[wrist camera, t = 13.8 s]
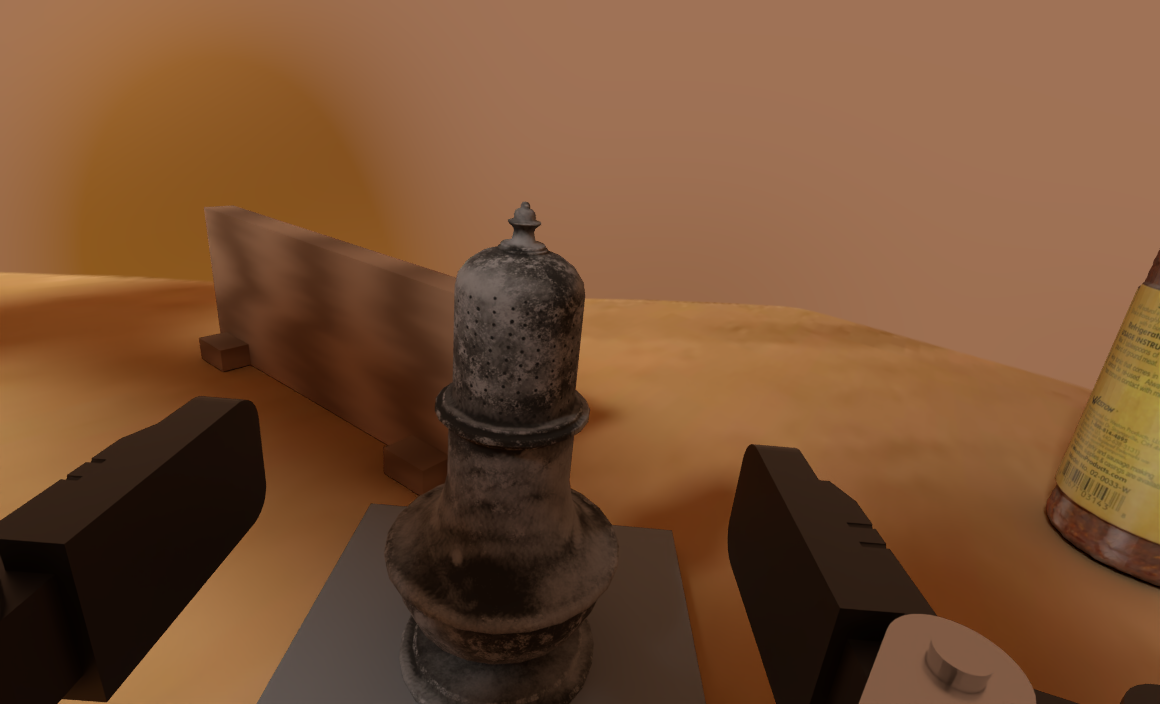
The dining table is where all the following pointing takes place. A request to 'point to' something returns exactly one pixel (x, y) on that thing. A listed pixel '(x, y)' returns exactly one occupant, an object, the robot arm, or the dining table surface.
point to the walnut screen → (338, 331)
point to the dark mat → (379, 616)
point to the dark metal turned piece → (505, 496)
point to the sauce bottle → (1119, 451)
